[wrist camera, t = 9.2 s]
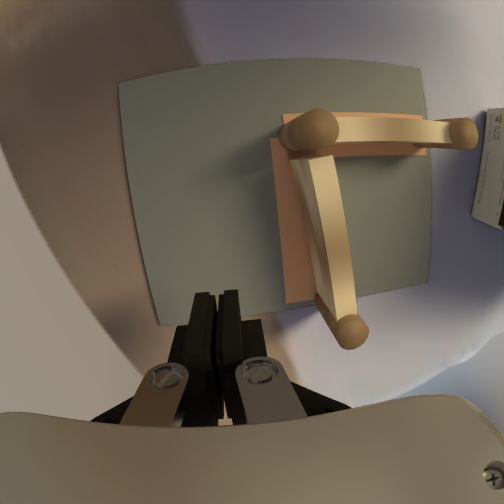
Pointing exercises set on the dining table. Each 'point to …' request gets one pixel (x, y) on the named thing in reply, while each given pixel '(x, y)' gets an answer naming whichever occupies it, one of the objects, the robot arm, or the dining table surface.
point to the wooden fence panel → (375, 131)
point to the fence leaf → (329, 248)
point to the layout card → (269, 181)
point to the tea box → (491, 173)
